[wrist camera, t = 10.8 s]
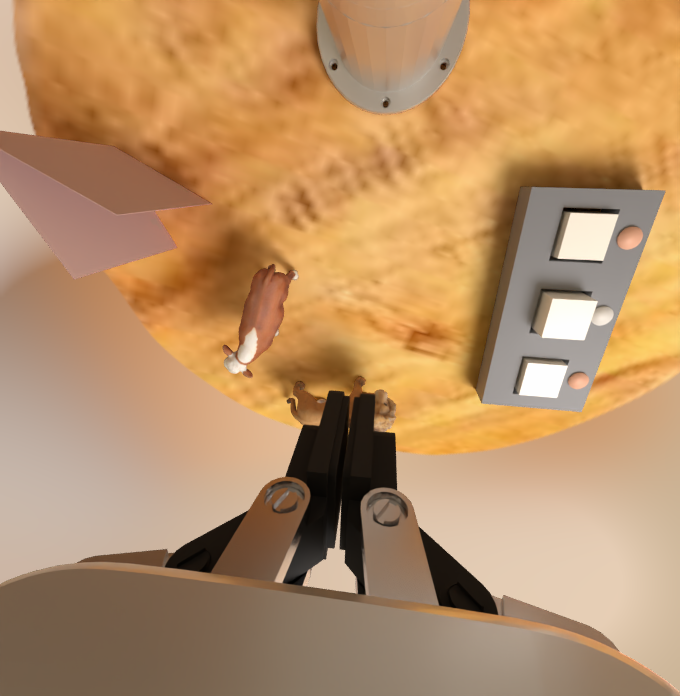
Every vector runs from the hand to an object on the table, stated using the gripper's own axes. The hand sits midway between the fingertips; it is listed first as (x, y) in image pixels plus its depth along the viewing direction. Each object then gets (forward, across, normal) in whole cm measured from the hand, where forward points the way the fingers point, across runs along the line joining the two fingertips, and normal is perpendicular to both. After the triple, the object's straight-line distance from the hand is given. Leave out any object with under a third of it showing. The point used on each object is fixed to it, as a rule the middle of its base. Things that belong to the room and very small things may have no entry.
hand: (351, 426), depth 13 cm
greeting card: (+29, +23, -7) cm, 38 cm away
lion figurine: (+29, +3, +16) cm, 34 cm away
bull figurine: (+29, +12, +6) cm, 32 cm away
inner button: (+29, -19, -4) cm, 35 cm away
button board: (+29, -19, +4) cm, 35 cm away
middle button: (+28, -19, +4) cm, 34 cm away
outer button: (+29, -19, +11) cm, 36 cm away
